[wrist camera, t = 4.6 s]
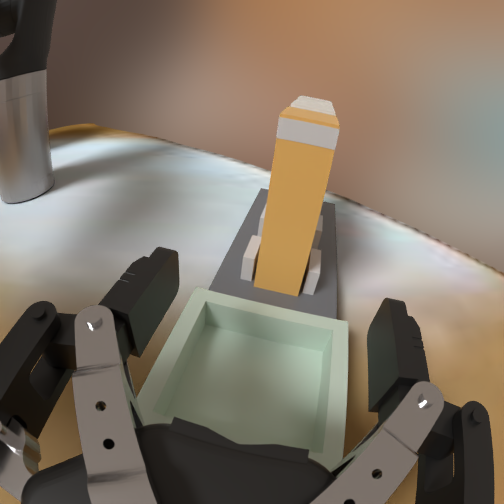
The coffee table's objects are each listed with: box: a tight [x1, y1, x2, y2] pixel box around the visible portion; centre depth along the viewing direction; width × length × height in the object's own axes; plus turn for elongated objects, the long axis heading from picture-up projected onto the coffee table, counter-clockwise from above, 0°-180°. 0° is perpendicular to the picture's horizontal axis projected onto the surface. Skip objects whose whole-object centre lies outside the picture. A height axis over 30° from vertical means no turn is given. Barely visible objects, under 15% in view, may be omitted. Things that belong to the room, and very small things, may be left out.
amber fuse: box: [254, 106, 340, 297], centre depth 20 cm, size 3×4×12 cm
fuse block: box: [209, 188, 337, 319], centre depth 28 cm, size 9×19×4 cm, turn 168°
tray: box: [136, 287, 348, 471], centre depth 16 cm, size 10×10×3 cm
